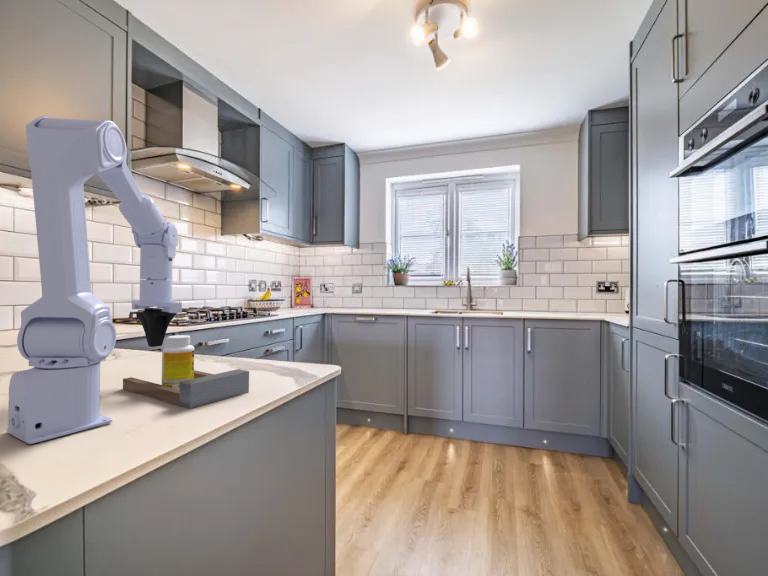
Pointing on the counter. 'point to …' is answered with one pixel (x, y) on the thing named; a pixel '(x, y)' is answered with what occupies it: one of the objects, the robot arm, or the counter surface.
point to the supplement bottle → (177, 361)
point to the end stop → (213, 388)
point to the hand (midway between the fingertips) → (155, 346)
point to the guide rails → (156, 388)
